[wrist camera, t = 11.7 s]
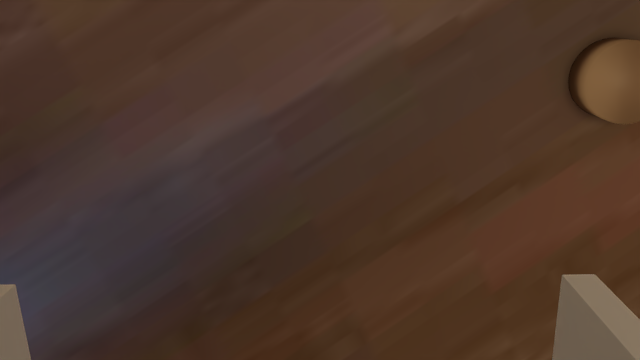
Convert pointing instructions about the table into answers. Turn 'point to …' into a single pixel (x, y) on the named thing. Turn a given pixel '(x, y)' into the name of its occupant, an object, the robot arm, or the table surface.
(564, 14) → the table surface
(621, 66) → the brown short cylinder
